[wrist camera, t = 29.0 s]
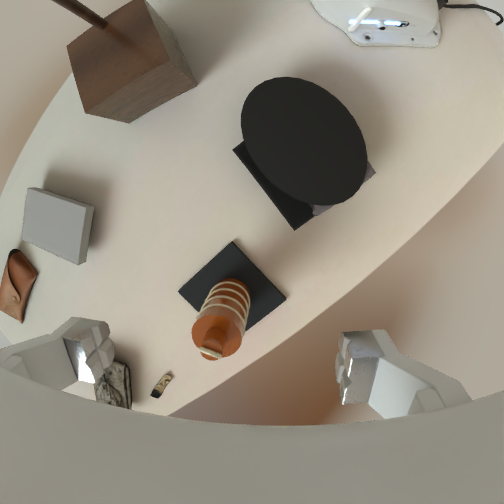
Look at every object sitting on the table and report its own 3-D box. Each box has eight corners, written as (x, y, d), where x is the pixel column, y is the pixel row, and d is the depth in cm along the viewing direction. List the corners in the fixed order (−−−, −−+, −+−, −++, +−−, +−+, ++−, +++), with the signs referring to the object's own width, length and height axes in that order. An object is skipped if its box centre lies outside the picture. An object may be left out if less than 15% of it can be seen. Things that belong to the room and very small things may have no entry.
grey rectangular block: (98, 206, 44) (40, 187, 44) (86, 207, 40) (27, 187, 41) (89, 259, 46) (34, 235, 46) (78, 265, 43) (21, 238, 43)
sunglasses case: (23, 326, 53) (-1, 327, 47) (16, 303, 56) (-6, 303, 50) (38, 273, 48) (10, 271, 42) (32, 249, 51) (6, 246, 45)
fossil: (158, 397, 54) (158, 400, 53) (150, 393, 54) (149, 396, 53) (173, 376, 52) (172, 379, 51) (164, 372, 51) (163, 375, 51)
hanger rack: (197, 86, 38) (20, -56, 3) (128, 123, 40) (-90, 94, 6) (171, 29, 35) (30, -107, 1) (108, 66, 38) (-69, -1, 3)
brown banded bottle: (257, 286, 45) (247, 343, 30) (242, 320, 47) (227, 383, 32) (218, 270, 45) (190, 320, 30) (205, 305, 46) (175, 363, 31)
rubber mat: (232, 241, 44) (231, 242, 43) (286, 298, 46) (286, 299, 45) (178, 290, 47) (177, 291, 46) (230, 340, 48) (230, 342, 48)
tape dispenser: (300, 73, 37) (300, 53, 30) (377, 170, 39) (392, 168, 32) (221, 130, 41) (206, 121, 34) (297, 228, 43) (297, 237, 36)
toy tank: (130, 350, 50) (105, 382, 41) (134, 410, 56) (116, 440, 46) (95, 337, 51) (68, 365, 41) (103, 397, 56) (83, 426, 46)
